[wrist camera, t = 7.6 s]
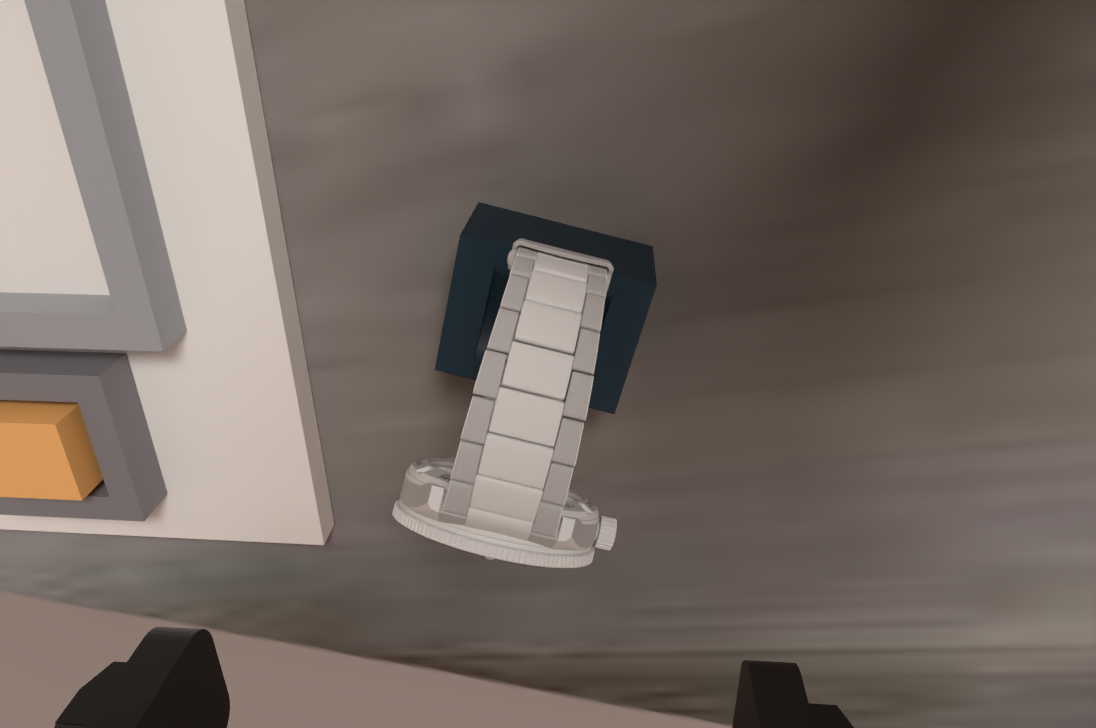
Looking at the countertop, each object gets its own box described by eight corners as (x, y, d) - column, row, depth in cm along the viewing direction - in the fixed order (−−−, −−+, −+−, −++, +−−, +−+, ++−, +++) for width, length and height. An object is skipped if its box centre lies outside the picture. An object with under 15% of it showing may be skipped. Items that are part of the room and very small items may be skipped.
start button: (9, 390, 27) (-34, 421, 25) (92, 393, 27) (55, 424, 25) (36, 462, 28) (-3, 496, 26) (116, 465, 28) (82, 500, 26)
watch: (444, 375, 27) (345, 614, 17) (489, 145, 23) (395, 286, 13) (602, 414, 27) (591, 672, 17) (672, 192, 23) (710, 364, 14)
